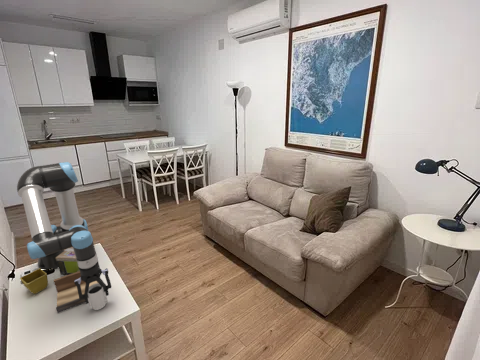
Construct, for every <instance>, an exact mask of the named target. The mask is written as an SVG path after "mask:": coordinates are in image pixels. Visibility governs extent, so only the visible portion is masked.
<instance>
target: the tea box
mask: <svg viewBox="0 0 480 360" xmlns="http://www.w3.org/2000/svg"><path fill="white" fill-rule="evenodd" d="M56 261H57V264H58V267H59V268H58V270H59V274H60V276H61V277H63V276H66V275H69V274H72V273H75V272H79V271H80V270H79V267H78V263H77V259H76V255H75V252H74V249H73V247H71V248H68V249H65V251H64V252H62V253H61V254H60V255H58V256H57V257H56Z"/></svg>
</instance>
